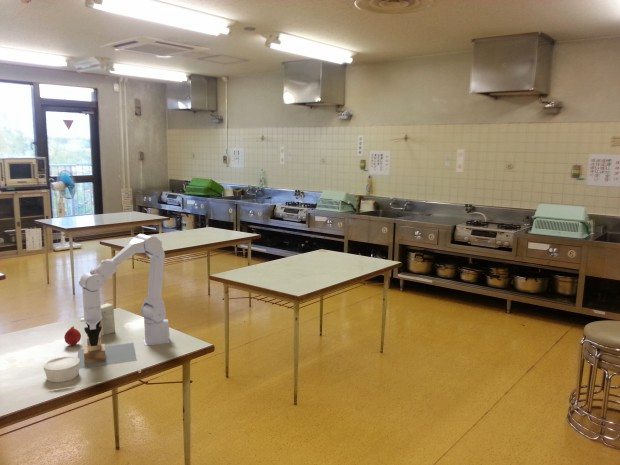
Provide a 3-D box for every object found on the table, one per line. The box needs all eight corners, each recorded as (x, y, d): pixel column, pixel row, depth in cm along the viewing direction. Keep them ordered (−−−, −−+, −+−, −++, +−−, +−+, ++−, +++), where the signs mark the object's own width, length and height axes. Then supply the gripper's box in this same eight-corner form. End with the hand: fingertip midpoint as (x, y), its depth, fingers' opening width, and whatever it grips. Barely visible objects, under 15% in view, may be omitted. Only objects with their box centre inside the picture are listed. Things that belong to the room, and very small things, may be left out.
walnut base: (105, 353, 184) (104, 343, 183) (105, 361, 177) (105, 350, 177) (84, 356, 181) (84, 346, 180) (84, 364, 174) (83, 353, 174)
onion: (74, 349, 188) (73, 329, 187) (61, 348, 189) (60, 328, 188) (84, 343, 194) (83, 324, 192) (71, 342, 195) (70, 323, 193)
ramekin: (68, 367, 173) (67, 353, 172) (88, 374, 167) (87, 360, 166) (37, 379, 163) (36, 364, 162) (57, 388, 158) (56, 372, 157)
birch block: (101, 345, 181) (100, 332, 180) (101, 349, 177) (100, 336, 176) (88, 347, 180) (87, 334, 179) (87, 351, 176) (86, 338, 175)
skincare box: (109, 329, 209) (108, 302, 207) (115, 332, 206) (114, 304, 204) (95, 334, 204) (94, 306, 202) (101, 336, 201) (100, 308, 199)
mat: (133, 343, 195) (133, 342, 195) (136, 361, 178) (136, 360, 178) (78, 350, 187) (78, 349, 187) (76, 370, 170) (76, 369, 170)
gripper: (80, 301, 181) (82, 336, 183) (79, 313, 168) (81, 350, 170) (101, 299, 184) (103, 333, 186) (101, 311, 170) (103, 347, 173)
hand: (94, 341), depth 178 cm, fingers open, 7 cm apart
